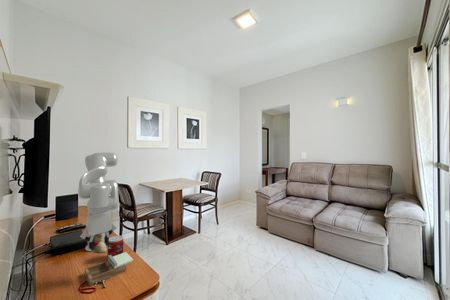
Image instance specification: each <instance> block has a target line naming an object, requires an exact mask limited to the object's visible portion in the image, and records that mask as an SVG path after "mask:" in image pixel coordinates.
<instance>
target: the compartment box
mask: <svg viewBox="0 0 450 300" xmlns="http://www.w3.org/2000/svg"><path fill="white" fill-rule="evenodd" d="M126 265H127V264H124V265H122V266H119V267H117V268H114V267H113V266H112V264H111V263H110V262H109V260H108V259H107V260H104V261H102V262H99V263H96V264H94V265H91V266H89V267H85V268H84V277H85V278H86V282H87V283H88V285H89V287H92V286H94V285H95V284H94V283H96V282H98V281H100V280H104V281H106V280H109V279H110V278H113V277H115V276H117V275H120V274H122V273H125V272H127V270H126V269H127V267H126ZM93 284H94V285H93Z"/></svg>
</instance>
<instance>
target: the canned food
mask: <svg viewBox="0 0 450 300" xmlns="http://www.w3.org/2000/svg"><path fill="white" fill-rule="evenodd" d="M122 253H124V236H123V235H114V236H111V237H109V243H108V246H107V256H108V255H111V256H112V257H113V256H116V255H119V254H122Z"/></svg>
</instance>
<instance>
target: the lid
mask: <svg viewBox="0 0 450 300" xmlns="http://www.w3.org/2000/svg"><path fill="white" fill-rule="evenodd" d="M107 260H109V262H110V263H111V264H112V266H113V267H114V268H117V267H119V266H122V265H124V264H125V265H127V264H129V263H132V262H133V261H134V259H133V258H132V256H130V255H129V254H128V252H126V251H125V252H124V251H123V253H122V254H119V255H116V256H113V257H112V256H111V255H108V254H107Z"/></svg>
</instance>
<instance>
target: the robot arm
mask: <svg viewBox="0 0 450 300" xmlns="http://www.w3.org/2000/svg"><path fill="white" fill-rule="evenodd" d="M84 164H85V167H86V170H87V171H86V173H84V174H83V175H82V176H81V177H80V179H79V181H78V189H77V190H78V194H77V195H78V197H79V198H80V199H82V200H86V199H89V200H88V201H87V202H86V209H87V217H86V224H85V229H84V231H83V232H82V233H81V234H80V238H81V239H83V240H85V241H87V243H88V244H87V245H85V248H84V249H85V251H87V252H92V250H94V242H93V237H94V236H95V235H97V234H101V233H102V234H103V236H102V238H101V241H102V242H104V243H105V244H106V246H107V247H108V243H109V238H110V236H111V234H112V233H113V232H114V231H115V230H116V229H117V226H115V225H114V224H113V223H112V218H111V217H112V216H111V211H115V210H117V209H118V208H119V202H120V201H119V197H120V196H119V184H118V182H117V180H115V179H109V180H106V174H107V173H108V167H112V168H113V167H115V166H117V164H118V155H117V154H116V153H115V152H95V153H92V154H90V155H87V156H85V157H84Z"/></svg>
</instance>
